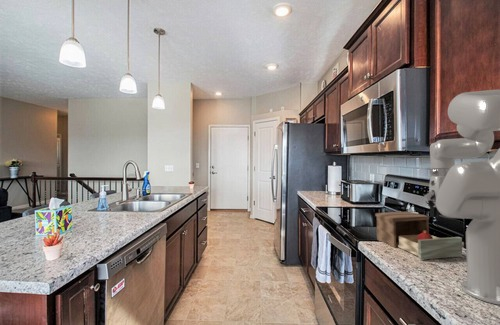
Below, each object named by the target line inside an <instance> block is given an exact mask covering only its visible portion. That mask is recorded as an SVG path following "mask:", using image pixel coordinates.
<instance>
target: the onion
mask: <svg viewBox="0 0 500 325" xmlns="http://www.w3.org/2000/svg"><path fill="white" fill-rule="evenodd" d="M432 236H433V235H432ZM432 236H431V234H430V233H429V234H428V233H427V232H426V231H423V233H421V234H419V236H418V238H417V241H418V240H421V239H433V238H432Z"/></svg>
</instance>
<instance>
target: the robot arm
mask: <svg viewBox="0 0 500 325" xmlns="http://www.w3.org/2000/svg"><path fill="white" fill-rule="evenodd" d="M447 116H448V118H449V120H450V121H451V122H452V123H454V124H456V130H457V133H458V134H459V135H460V136H461V138H446V139H444V138H442V139H439V140H436V141H435V142H432V143H431V144H430V146H429V159H430V160H429V161H430V171H429V173H430V177H429V178H430V179H429V186H428V187H429V188H428V189H429V190H428V192H427V193H426V194H424V195H423V198H424V200H425V203H426V205H427V206H428V207H429V211H430V212H429V213H430V214H429V215H430V216H429V217H431V218H436V219H439V218H440V215H442V216H443V217H446V218H450V219H467V220H469V219H470V220H471V221H470V223H469V224H468V225H467V227H466V229H465V230H466V231H465V250H466V251H465V254H466V256H465V258H466V277H467V278H466V279H465V280H463V281H462V282H460V288H461V290H462V291H463V292H464V293H465V294H467V295H469V296H471V297H473V298H474V299H478V300H480V301H483V302H487V303H490V304H492V305H499V306H500V147H499V148H498V150H497V151H496V152H495V154H494V156H492V157H491V159H487V160H477V161H475V160H473V159H478V158H479V157H481V156H483V155H485V154H486V153H487V152H489V151H490V150H491V149H492V148H493V145H494V142H495V134H494V132H499V131H500V89H489V90H479V91H466V92H462V93H459V94H457V95H456V96H455V97H454V98H453V99H452V100H450V103H449V105H448V108H447ZM469 159H470V160H469ZM455 160H469V161H462V162H461V161H460V162H457V163H456V162H455Z"/></svg>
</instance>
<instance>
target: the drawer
mask: <svg viewBox="0 0 500 325" xmlns="http://www.w3.org/2000/svg"><path fill="white" fill-rule="evenodd" d="M430 235H431V234H430ZM418 236H419V235H405V236H399V239H398V244H397V247H398V249H399V248H400V249H401V250H404V251H407V252H408V253H411V254H413V255H415V256H417V257H418V260H421V261H422V260H432V259H446V258H454V257H455V258H456V257H463V237H460V236H452V237H437V236H434V235H431V236H432V238H433V239H421V240H418V241H417V238H418Z"/></svg>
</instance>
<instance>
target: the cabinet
mask: <svg viewBox="0 0 500 325" xmlns="http://www.w3.org/2000/svg"><path fill="white" fill-rule="evenodd" d="M409 211H410V210H409ZM409 211H405V210H404V211H393V212H391V211H390V212H375V214H374V215H375V217H376V241H379V242H381V241H382V242H381V243H383V242H384V243H383V244H385V243H386V244H385V245H387V244H388V246H389V245H390V246H389V247H392V248H395V247H396V248H397V240H399V236H405V235H419V234H421V233H423V231H426V232H427V233H428V234H430V226H429V220H430V216H429V215H426V214H421V213H418V212H417V213H418V214H417V213H413V212H414V211H410V212H409ZM396 248H395V249H396Z"/></svg>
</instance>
